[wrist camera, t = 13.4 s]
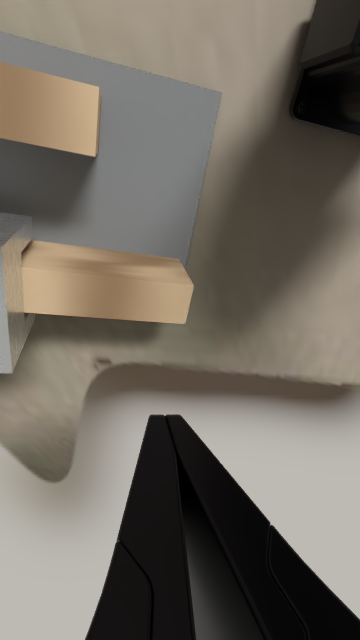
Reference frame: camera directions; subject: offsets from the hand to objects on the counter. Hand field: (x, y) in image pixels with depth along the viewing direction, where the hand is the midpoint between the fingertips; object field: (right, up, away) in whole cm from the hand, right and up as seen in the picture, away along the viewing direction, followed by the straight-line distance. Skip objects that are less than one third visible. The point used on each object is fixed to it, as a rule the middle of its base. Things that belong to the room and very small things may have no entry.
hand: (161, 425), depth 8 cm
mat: (-5, +10, +8) cm, 13 cm away
